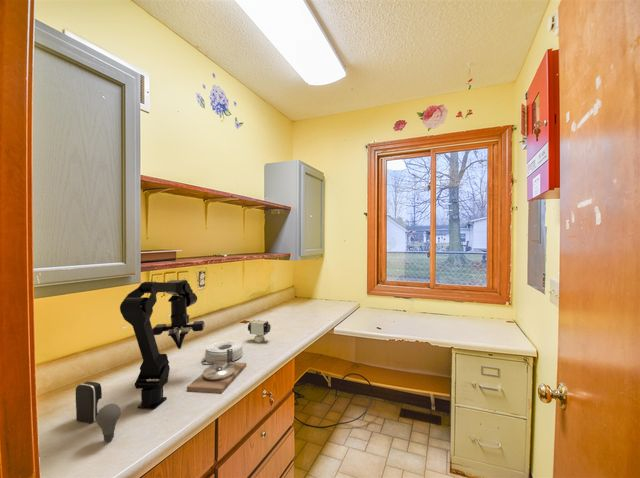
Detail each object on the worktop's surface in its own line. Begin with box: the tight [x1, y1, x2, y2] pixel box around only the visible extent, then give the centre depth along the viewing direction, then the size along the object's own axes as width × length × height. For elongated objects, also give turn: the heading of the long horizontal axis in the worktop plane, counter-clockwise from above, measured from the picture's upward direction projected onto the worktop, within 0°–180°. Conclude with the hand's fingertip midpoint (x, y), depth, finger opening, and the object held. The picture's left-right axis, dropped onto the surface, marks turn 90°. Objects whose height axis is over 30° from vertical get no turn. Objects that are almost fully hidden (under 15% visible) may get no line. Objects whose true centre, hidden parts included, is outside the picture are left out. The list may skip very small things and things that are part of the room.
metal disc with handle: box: [202, 349, 234, 381], centre depth 117 cm, size 15×12×6 cm
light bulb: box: [95, 403, 121, 442], centre depth 80 cm, size 6×6×10 cm
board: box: [186, 361, 247, 394], centre depth 116 cm, size 22×14×2 cm, turn 171°
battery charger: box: [75, 381, 103, 424], centre depth 90 cm, size 7×4×11 cm, turn 76°
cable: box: [201, 340, 244, 365], centre depth 136 cm, size 18×18×6 cm
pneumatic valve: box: [247, 319, 272, 344], centre depth 156 cm, size 6×12×12 cm, turn 74°
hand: (179, 348), depth 116 cm, fingers closed
